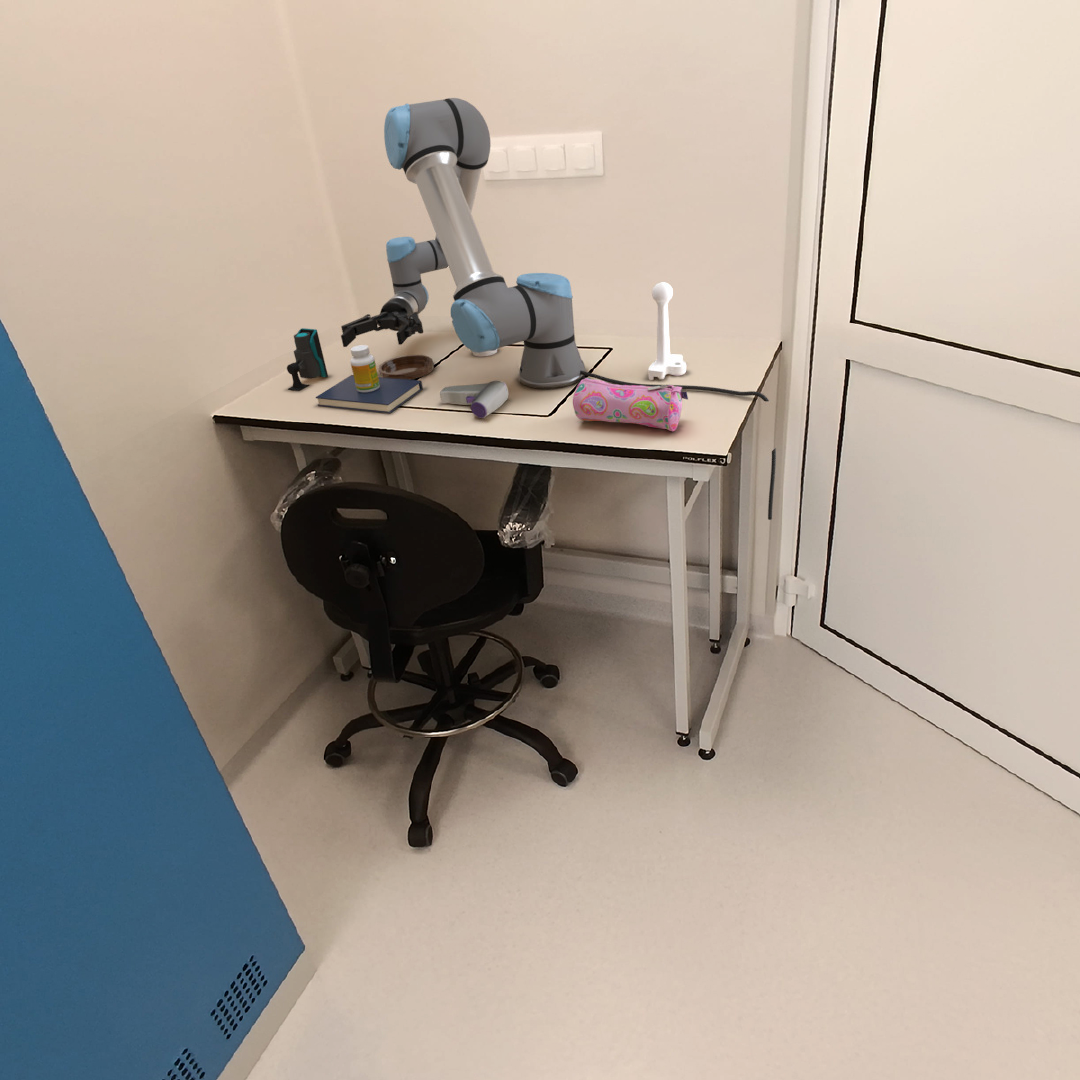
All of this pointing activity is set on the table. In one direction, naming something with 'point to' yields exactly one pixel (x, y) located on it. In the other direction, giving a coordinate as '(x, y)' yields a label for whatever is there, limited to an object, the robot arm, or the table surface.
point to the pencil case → (629, 403)
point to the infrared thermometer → (477, 396)
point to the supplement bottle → (364, 369)
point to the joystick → (664, 337)
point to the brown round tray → (406, 367)
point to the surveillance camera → (307, 358)
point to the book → (370, 395)
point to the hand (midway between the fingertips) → (371, 340)
